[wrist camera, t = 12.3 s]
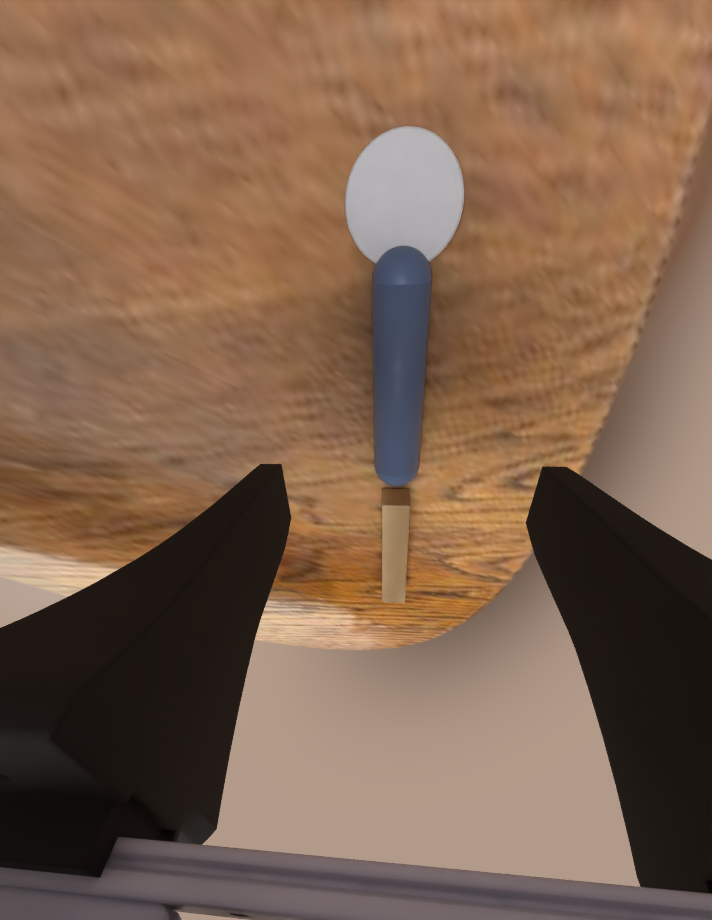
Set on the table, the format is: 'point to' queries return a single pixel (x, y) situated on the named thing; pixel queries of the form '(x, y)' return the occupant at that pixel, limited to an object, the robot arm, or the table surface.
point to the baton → (394, 543)
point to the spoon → (402, 275)
